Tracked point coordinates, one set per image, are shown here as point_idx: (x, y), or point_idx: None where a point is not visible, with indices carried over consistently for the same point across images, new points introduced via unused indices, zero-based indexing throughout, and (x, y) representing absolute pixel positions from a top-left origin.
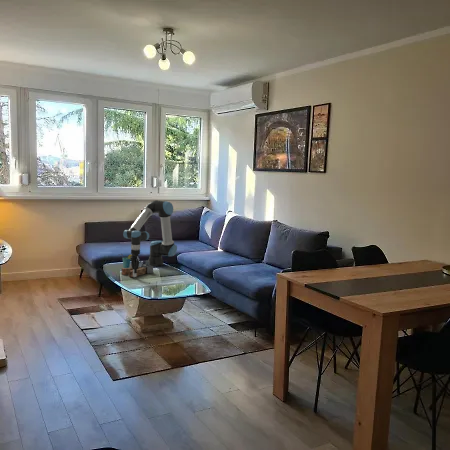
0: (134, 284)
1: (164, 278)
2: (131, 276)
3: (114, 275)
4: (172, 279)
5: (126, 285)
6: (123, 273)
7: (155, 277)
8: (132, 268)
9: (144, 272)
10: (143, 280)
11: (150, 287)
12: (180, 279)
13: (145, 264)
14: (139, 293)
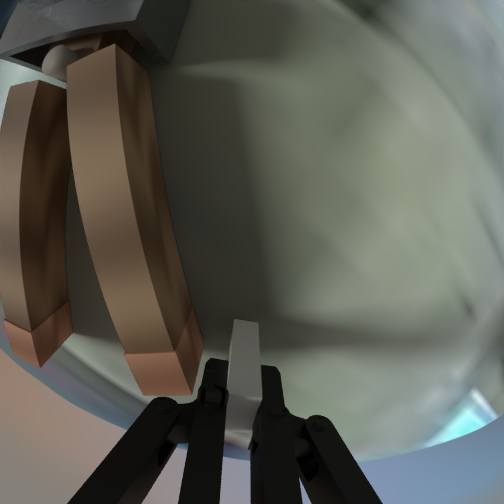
0: (397, 415)
1: (449, 65)
2: (202, 350)
3: (72, 386)
4: (491, 58)
5: (367, 453)
6: (64, 336)
7: (377, 91)
8: (21, 242)
9: (144, 92)
10: (385, 304)
11: (499, 355)
12: (501, 29)
13: (22, 8)
14: (479, 428)
